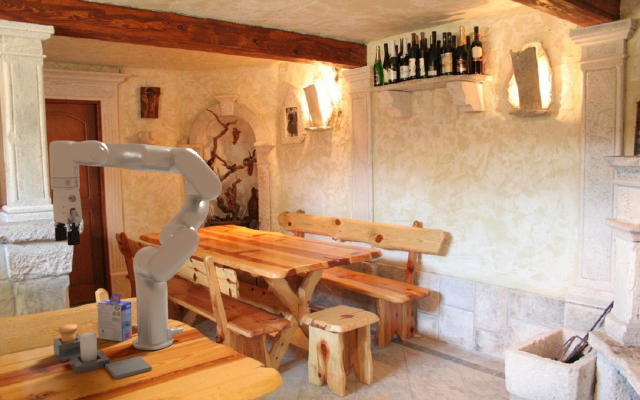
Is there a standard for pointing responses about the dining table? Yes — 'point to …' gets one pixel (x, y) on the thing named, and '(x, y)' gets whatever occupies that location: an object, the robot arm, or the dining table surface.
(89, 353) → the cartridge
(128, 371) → the mat
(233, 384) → the dining table surface
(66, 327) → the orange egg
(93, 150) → the robot arm
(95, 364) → the collar
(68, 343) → the housing
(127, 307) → the ink cartridge box
